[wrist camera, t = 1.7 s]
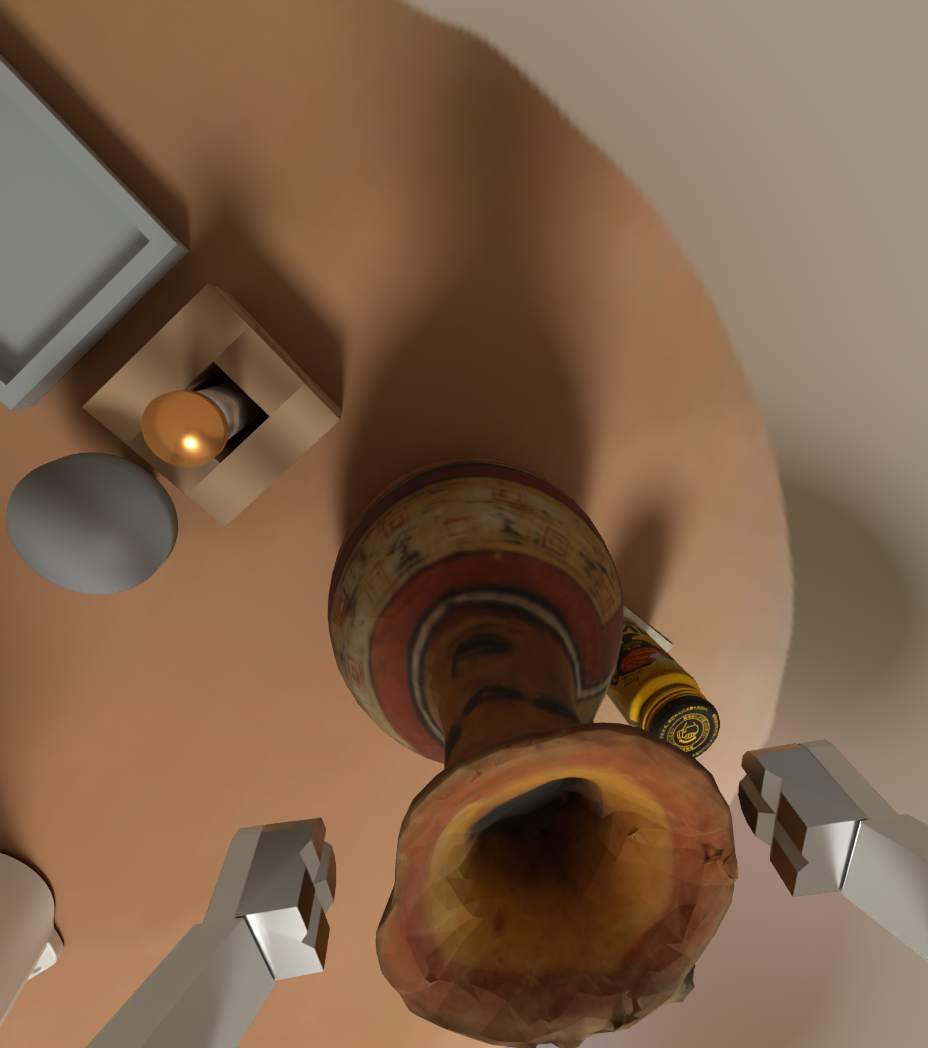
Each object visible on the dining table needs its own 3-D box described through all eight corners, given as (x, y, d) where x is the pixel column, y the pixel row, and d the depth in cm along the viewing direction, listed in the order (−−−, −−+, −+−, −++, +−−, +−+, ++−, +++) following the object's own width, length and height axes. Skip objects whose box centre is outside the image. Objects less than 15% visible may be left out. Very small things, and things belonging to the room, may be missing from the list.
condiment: (614, 597, 47) (695, 677, 35) (672, 644, 50) (764, 732, 38) (559, 657, 48) (621, 753, 36) (619, 700, 51) (694, 801, 39)
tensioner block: (162, 577, 39) (119, 630, 31) (35, 481, 35) (-47, 515, 28) (342, 410, 37) (338, 425, 30) (228, 291, 34) (194, 277, 27)
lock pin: (237, 442, 37) (187, 482, 26) (194, 402, 35) (123, 427, 25) (274, 406, 36) (240, 432, 26) (232, 365, 35) (178, 374, 24)
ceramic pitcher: (488, 390, 39) (823, 507, 11) (613, 583, 46) (1004, 946, 18) (276, 547, 39) (83, 1033, 12) (432, 712, 47) (544, 1252, 19)
